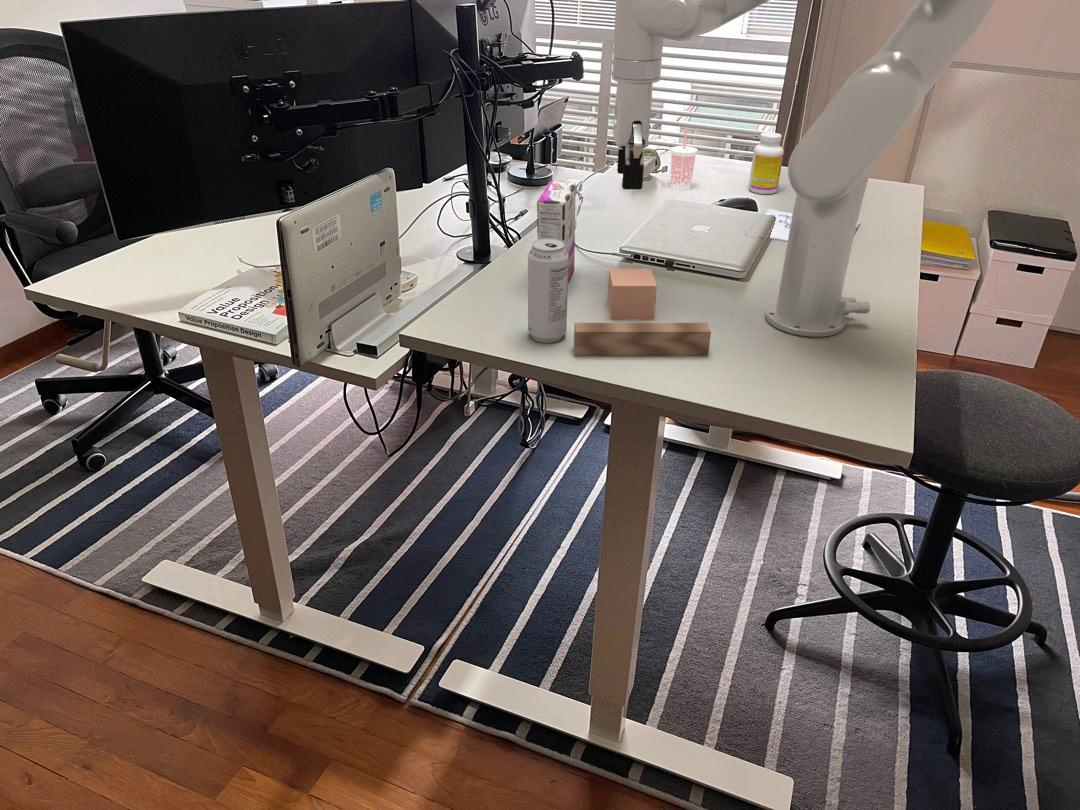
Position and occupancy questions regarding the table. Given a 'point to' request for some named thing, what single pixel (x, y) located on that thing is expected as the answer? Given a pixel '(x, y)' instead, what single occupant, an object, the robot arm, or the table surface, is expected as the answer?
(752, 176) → the supplement bottle
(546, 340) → the energy drink can
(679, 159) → the beverage cup
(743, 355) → the table surface
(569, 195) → the candy bar box
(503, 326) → the table surface
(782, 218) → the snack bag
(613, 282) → the terracotta block
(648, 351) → the walnut plank
